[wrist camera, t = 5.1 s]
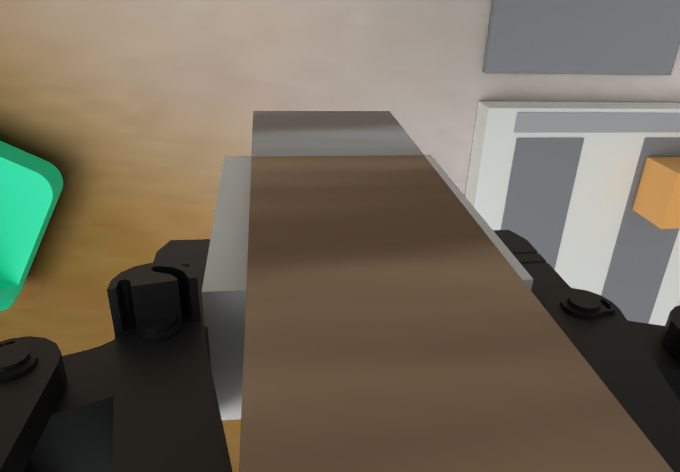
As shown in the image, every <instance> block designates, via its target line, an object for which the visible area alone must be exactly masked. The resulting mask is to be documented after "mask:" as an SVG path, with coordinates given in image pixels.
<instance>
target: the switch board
mask: <svg viewBox="0 0 680 472" xmlns="http://www.w3.org/2000/svg"><path fill="white" fill-rule="evenodd" d="M647 157H680V103H675V102H515V101H478V108H477V115H476V123H475V130H474V137H473V144H472V151H471V158H470V166H469V173H468V180H467V187H466V194H465V197H466V198H467V199H468V201H469V202H470V203H471V204H472V205H473V207H474V208H475V209H476V210H477V211H478V213H479V214H480V215H481V216H482V218H483V219H484V220H485V221H486V222H487V224H488V225H489V226H490V227H491V228H492V230H510V231H512V232H514V233H516V234H517V235H519V236H521V237H523V238H525V239H526V240H528V241H529V243H530V244H531V245H532V246H533V247H534V248H535V249H536V250H537V251H538V252H537V253H538V254H540V255H541V256H542V257H543V258H544V259H545V260H546V263H549V264H550V266H551V267H552V268H553V269H554V270H555V271H556V272H557V273H558V274H559V275H560V276H561V278H562V279H563V280H564V281H565V282H566V283H567V284H568V285H569V286H570V287H571V288H575V289H581V290H587V291H590V292H593V293H595V294H598V295H601V296H603V297H604V298H606V299H608V300H610V301H611V302H613V303H614V304H615V305H616V306H617V307H618V308H619V309H620V310H621V312H622V313H623V315H624V316H625V318H626V319H627V320H628V321H634V322H641V323H648V324H654V325H661V326H665V325H666V322H667V319H668V316H669V314H670V311H671V310H672V309H673V308H674V307H676V306H678V305H679V302H680V228H675V229H660V228H659V227H657V226H656V225H654V224H653V223H651V222H650V221H649V220H647V219H646V218H644V217H643V216H641V215H640V214H638V213H637V212H635V211H634V210H632V209H633V205H634V202H635V198H636V195H637V191H638V188H639V184H640V181H641V177H642V173H643V170H644V166H645V163H646V159H647Z"/></svg>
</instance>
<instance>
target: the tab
mask: <svg viewBox="0 0 680 472" xmlns="http://www.w3.org/2000/svg"><path fill="white" fill-rule="evenodd" d="M632 210H634V211H635V212H637V213H638V214H640V215H641V216H643V217H644V218H646V219H647V220H649V221H650V222H651V223H653V224H654V225H656V226H657V227H659V228H660V229H675V228H680V157H647V159H646V163H645V166H644V170H643V173H642V177H641V181H640V184H639V188H638V191H637V195H636V198H635V202H634V205H633V209H632Z"/></svg>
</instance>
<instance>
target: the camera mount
mask: <svg viewBox="0 0 680 472" xmlns="http://www.w3.org/2000/svg"><path fill="white" fill-rule="evenodd" d="M62 188H63V178H62V175H61V173H60V172H59V170H58V169H57V168H56V167H55V166H54V165H53V164H51V163H50V162H48V161H46V160H43V159H41V158H39V157H37V156H34V155H32V154H30V153H27V152H25V151H23V150H20V149H18V148H16V147H14V146H11V145H9V144H7V143H4V142H2V141H0V311H2V310H5V309H8V308H10V306H11V305H12V303H13V302H14V301H15V299H16V298H17V297H18V295H19V294H20V292H21V290H22V288H23V285H24V283H25V280H26V278H27V275H28V273H29V270H30V268H31V265H32V263H33V260H34V258H35V255H36V253H37V250H38V248H39V245H40V243H41V241H42V238H43V236H44V233H45V231H46V228H47V226H48V223H49V221H50V218H51V216H52V213H53V211H54V208H55V206H56V203H57V201H58V199H59V196H60V194H61V191H62Z"/></svg>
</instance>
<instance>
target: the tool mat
mask: <svg viewBox="0 0 680 472" xmlns="http://www.w3.org/2000/svg"><path fill="white" fill-rule="evenodd" d="M679 44H680V0H493V1H492V8H491V15H490V22H489V29H488V36H487V44H486V51H485V58H484V65H483V72H485V73H537V74H617V75H671V72H672V69H673V65H674V62H675V58H676V55H677V51H678V47H679Z"/></svg>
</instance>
